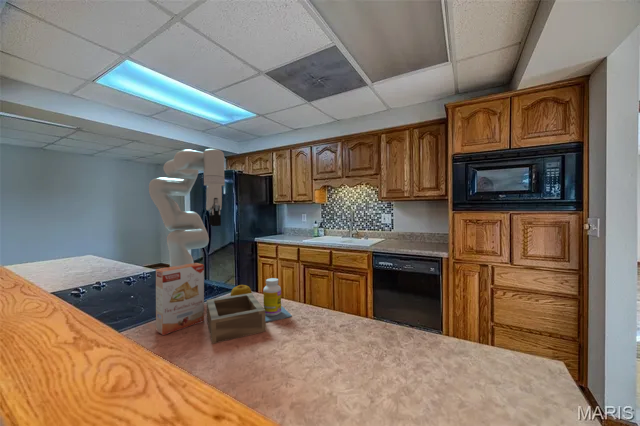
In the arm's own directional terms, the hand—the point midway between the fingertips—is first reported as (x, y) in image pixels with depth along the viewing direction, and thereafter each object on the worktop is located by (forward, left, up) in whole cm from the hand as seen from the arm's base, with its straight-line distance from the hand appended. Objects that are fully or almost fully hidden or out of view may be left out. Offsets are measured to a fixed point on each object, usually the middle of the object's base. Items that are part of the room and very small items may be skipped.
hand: (214, 225), depth 101 cm
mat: (+13, +19, -34) cm, 41 cm away
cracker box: (+7, -12, -34) cm, 37 cm away
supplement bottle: (+13, +19, -34) cm, 41 cm away
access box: (+15, +5, -34) cm, 38 cm away
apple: (-2, +10, -34) cm, 36 cm away
